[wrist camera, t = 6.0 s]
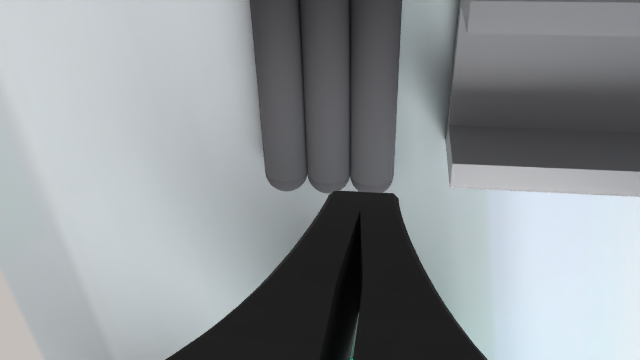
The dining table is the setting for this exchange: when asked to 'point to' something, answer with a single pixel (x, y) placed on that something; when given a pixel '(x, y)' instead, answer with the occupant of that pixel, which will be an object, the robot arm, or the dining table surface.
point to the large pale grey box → (546, 97)
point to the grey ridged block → (328, 91)
